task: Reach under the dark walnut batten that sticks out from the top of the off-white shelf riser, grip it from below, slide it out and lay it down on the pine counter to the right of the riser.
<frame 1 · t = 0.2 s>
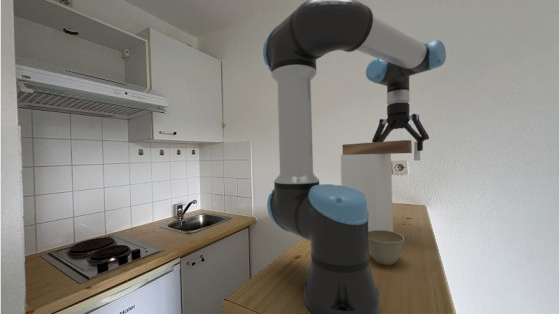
hand: (398, 160, 85), 27 cm above the counter, tool pointing down, fingers open, 13 cm apart
flower pot: (384, 261, 63), on the counter
riser: (367, 235, 82), on the counter
batten: (373, 154, 79), point 30 cm above the counter, touching riser
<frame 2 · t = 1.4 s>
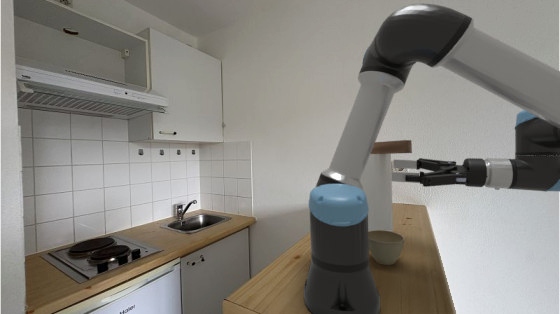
hand: (392, 169, 69), 25 cm above the counter, tool horizontal, fingers open, 13 cm apart
nothing on the counter moved.
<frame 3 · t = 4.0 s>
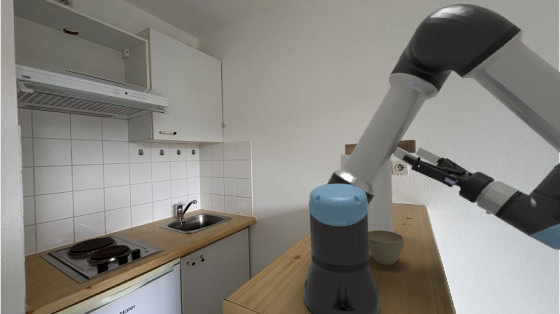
hand: (407, 150, 70), 31 cm above the counter, tool pointing upward, fingers open, 13 cm apart
batten: (376, 153, 79), point 30 cm above the counter, touching riser
everything else where it was.
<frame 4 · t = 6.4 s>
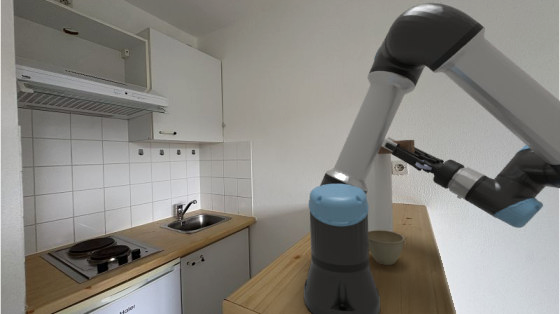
hand: (383, 140, 76), 35 cm above the counter, tool pointing upward, fingers closed on batten, 4 cm apart
batten: (375, 153, 79), point 30 cm above the counter, touching gripper, riser
everything else where it was.
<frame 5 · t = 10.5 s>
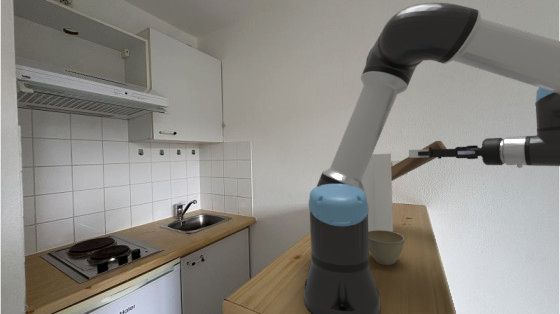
hand: (412, 153, 80), 30 cm above the counter, tool horizontal, fingers closed on batten, 4 cm apart
batten: (412, 169, 80), point 24 cm above the counter, tilted 30°, touching gripper
everything else where it was.
when the fingers open (14 cm above the counter, at t = 13.8 s): batten drops 9 cm, on the counter.
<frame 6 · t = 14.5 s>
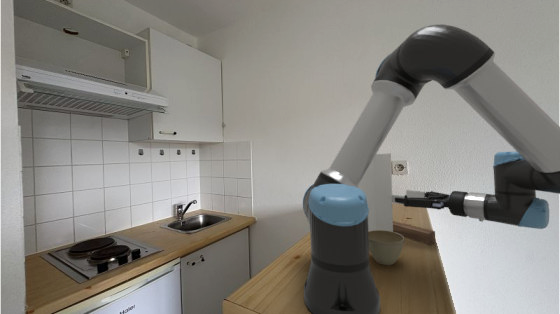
hand: (397, 195, 85), 14 cm above the counter, tool horizontal, fingers open, 13 cm apart
batten: (397, 234, 84), on the counter
everything else where it was.
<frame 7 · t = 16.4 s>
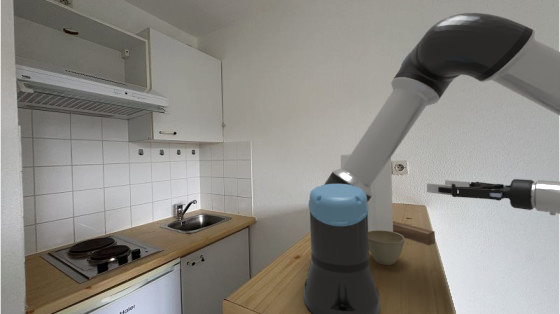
hand: (436, 185, 73), 19 cm above the counter, tool horizontal, fingers open, 13 cm apart
nothing on the counter moved.
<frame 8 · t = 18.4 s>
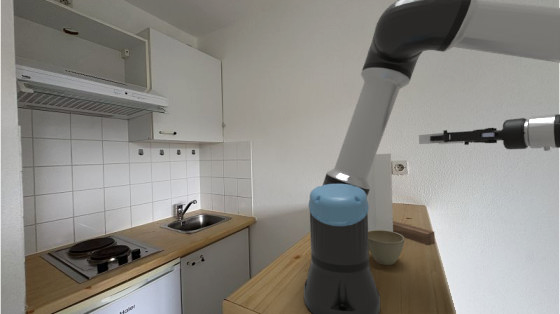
hand: (429, 139, 72), 34 cm above the counter, tool horizontal, fingers open, 13 cm apart
nothing on the counter moved.
at the end: batten inside the target area (3.0 cm from its centre), on the counter; the gripper is holding nothing; batten moved 32.3 cm from its start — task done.
